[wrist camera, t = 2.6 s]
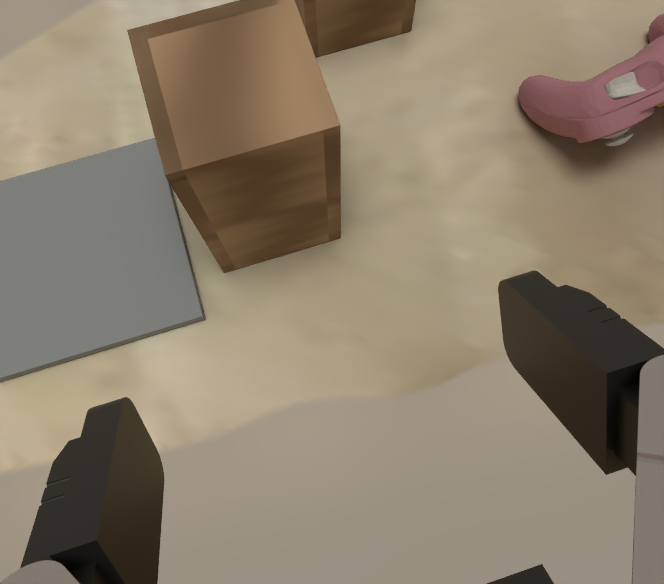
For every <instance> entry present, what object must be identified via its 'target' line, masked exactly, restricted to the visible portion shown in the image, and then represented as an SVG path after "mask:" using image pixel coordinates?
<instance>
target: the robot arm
mask: <svg viewBox="0 0 664 584" xmlns="http://www.w3.org/2000/svg"><path fill="white" fill-rule="evenodd" d="M498 293H499V303H500V313H501V322H502V332H503V341H504V346H505V350H506V352H507V355H508V357H509V360H510V361H511V363H512V365H513V366H514V368H515V369H516V370H517V371H518V373H519V374H520V375H521V376H522V377H523V378H524V380H525V381H526V382H527V383H528V384H529V385H530V386H531V388H532V389H533V390H534V391H535V392H536V393H537V395H538V396H539V397H540V398H541V399H542V400H543V401H544V403H545V404H546V405H547V406H548V408H549V409H550V410H551V411H552V412H553V413H554V415H555V416H556V417H557V418H558V419H559V420H560V421H561V423H562V424H563V425H564V426H565V427H566V429H567V430H568V431H569V432H570V433H571V434H572V436H573V437H574V438H575V439H576V440H577V441H578V442H579V444H580V445H581V446H582V447H583V448H584V450H585V451H586V452H587V453H588V454H589V455H590V457H591V458H592V459H593V460H594V461H595V462H596V463H597V465H598V466H599V467H600V468H601V469H602V470H603V471H604V473H605V474H606V475H607V474H610V473H613V472H616V471H618V470H621V469H624V468H627V467H628V468H629V469H630V470H631V471H632V472H633V473H634V475H635V476H636V487H635V515H634V542H633V568H632V584H664V348H662V347H661V346H660V345H658V344H657V343H656V342H654V341H653V340H652V339H650V338H649V337H648V336H646V335H645V334H643V333H642V332H641V331H640V330H638V329H637V328H636V327H634V326H633V325H632V324H630V323H629V322H628V321H626V320H625V319H624V318H623V319H621V318H620V315H618V314H617V313H616V312H614V311H613V310H612V309H610V308H608V309H607V307H606V305H605V304H604V303H602V302H601V301H600V300H598V299H597V298H596V297H594V296H593V295H592V294H590V293H589V292H586V291H583V290H580V289H577V288H574V287H571V286H568V285H564V286H560V287H556V286H555V285H554V284H553V283H551V282H550V281H549V280H548V279H546V278H545V277H544V276H543V275H541V274H540V273H539V272H537V271H530V272H527V273H524V274H521V275H518V276H514V277H511V278H508V279H505V280H502V281H500V283H499V286H498ZM46 484H47V488H45V490H44V493H43V496H42V500H41V503H42V505H41V506H39V509H38V512H37V516H36V519H35V522H34V525H33V529H32V532H31V535H30V538H29V542H28V545H27V548H26V551H25V554H24V558H23V561H22V564H21V568H20V569H19V570H17V571H16V572H14V573H12V574H11V575H10V576H8V577H7V578H6V579H4V580H3V581H2V582H1V583H0V584H157V580H158V564H159V550H160V534H161V521H162V520H161V519H162V505H163V491H164V472H163V466H162V462H161V459H160V456H159V453H158V451H157V449H156V447H155V445H154V443H153V441H152V439H151V437H150V435H149V433H148V431H147V429H146V427H145V425H144V424H143V422H142V420H141V418H140V416H139V414H138V412H137V410H136V408H135V406H134V404H133V403H132V401H131V400H130V399H129V398H127V397H125V398H122V399H118V400H115V401H112V402H109V403H106V404H103V405H99V406H96V407H93V408H90V409H89V410H88V412H87V415H86V419H85V422H84V426H83V430H82V434H81V437H80V438H77V439H73V440H70V441H69V442H68V443H67V444H66V446H65V447H64V448H63V450H62V451H61V452H60V454H59V455H58V456H57V458H56V459H55V460H54V462H53V464H52V467H51V471H50V474H49V477H48V481H47V483H46ZM487 584H554V583H553V582H552V580H551V578H550V577H549V575H548V573H547V572H546V570H545V568H544V567H543V565H542V564H541V565H538V566H535V567H533V568H530V569H527V570H524V571H521V572H519V573H516V574H513V575H510V576H507V577H505V578H502V579H499V580H496V581H493V582H490V583H487Z"/></svg>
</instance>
